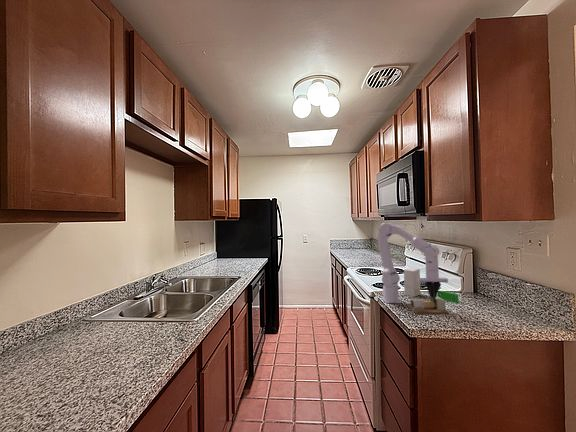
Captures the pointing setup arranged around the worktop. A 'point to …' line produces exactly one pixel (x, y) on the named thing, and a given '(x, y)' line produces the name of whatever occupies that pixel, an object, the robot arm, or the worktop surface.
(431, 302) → the light wooden block
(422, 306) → the white cardboard cube
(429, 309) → the walnut board
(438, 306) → the socket block
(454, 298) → the green block
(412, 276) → the skincare box
